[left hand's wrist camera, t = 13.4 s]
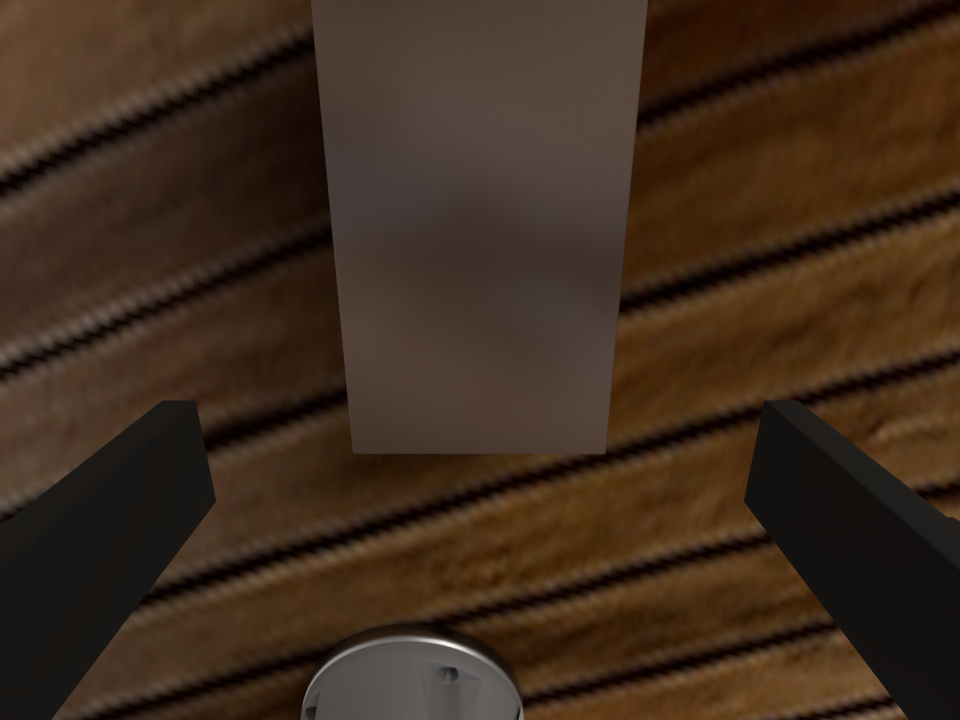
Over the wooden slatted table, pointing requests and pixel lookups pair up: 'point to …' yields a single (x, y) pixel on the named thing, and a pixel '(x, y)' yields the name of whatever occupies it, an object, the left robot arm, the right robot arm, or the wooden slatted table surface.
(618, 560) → the wooden slatted table surface
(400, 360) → the cabinet
